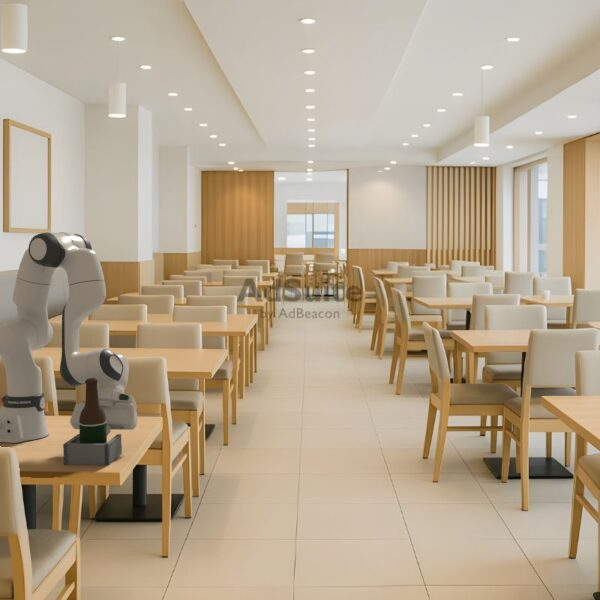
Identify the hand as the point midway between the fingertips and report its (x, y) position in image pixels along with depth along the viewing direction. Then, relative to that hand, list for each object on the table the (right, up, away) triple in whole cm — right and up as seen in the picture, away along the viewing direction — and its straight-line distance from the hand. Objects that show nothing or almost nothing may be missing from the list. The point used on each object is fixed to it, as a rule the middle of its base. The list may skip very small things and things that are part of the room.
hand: (99, 440), depth 242 cm
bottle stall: (0, -5, -5) cm, 7 cm away
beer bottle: (-1, -5, -4) cm, 6 cm away
